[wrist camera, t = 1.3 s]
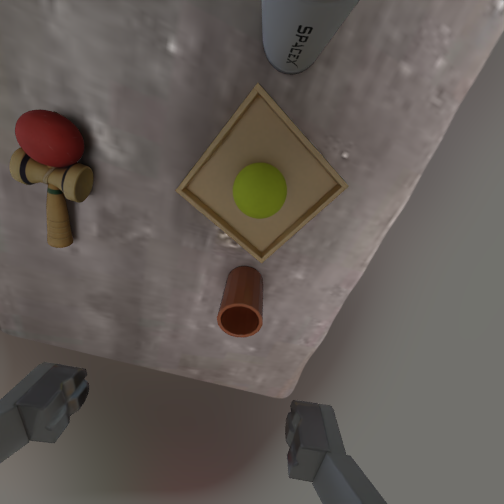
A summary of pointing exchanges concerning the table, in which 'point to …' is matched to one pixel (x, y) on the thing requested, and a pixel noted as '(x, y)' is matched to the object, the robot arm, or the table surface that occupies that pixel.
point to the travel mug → (300, 30)
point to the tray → (264, 151)
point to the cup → (242, 303)
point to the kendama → (52, 167)
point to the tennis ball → (259, 190)
